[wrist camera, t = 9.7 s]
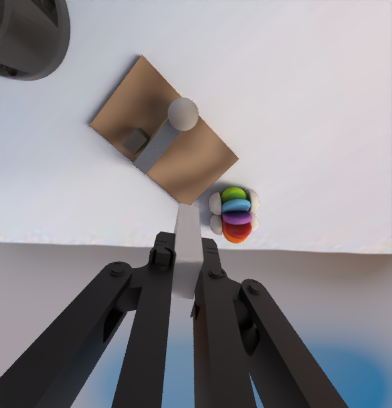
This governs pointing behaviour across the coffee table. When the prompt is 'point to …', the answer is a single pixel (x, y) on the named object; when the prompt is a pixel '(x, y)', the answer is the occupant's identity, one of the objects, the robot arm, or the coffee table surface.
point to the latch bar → (156, 147)
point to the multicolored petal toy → (234, 213)
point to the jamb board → (152, 122)
